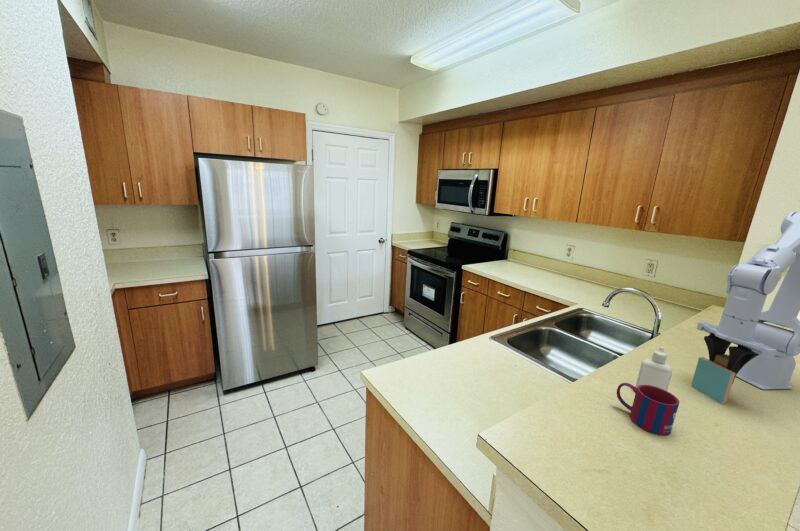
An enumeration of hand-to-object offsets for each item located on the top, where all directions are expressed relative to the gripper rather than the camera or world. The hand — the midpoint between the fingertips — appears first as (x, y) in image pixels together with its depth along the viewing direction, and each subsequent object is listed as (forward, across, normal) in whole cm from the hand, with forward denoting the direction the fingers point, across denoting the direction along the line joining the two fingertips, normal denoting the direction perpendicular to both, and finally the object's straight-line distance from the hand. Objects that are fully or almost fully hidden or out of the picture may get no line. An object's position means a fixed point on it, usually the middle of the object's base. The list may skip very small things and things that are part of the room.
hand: (722, 370), depth 76 cm
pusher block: (+3, 0, 0) cm, 3 cm away
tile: (+6, 0, -2) cm, 7 cm away
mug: (+7, +7, -27) cm, 28 cm away
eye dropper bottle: (+7, -1, -17) cm, 18 cm away
